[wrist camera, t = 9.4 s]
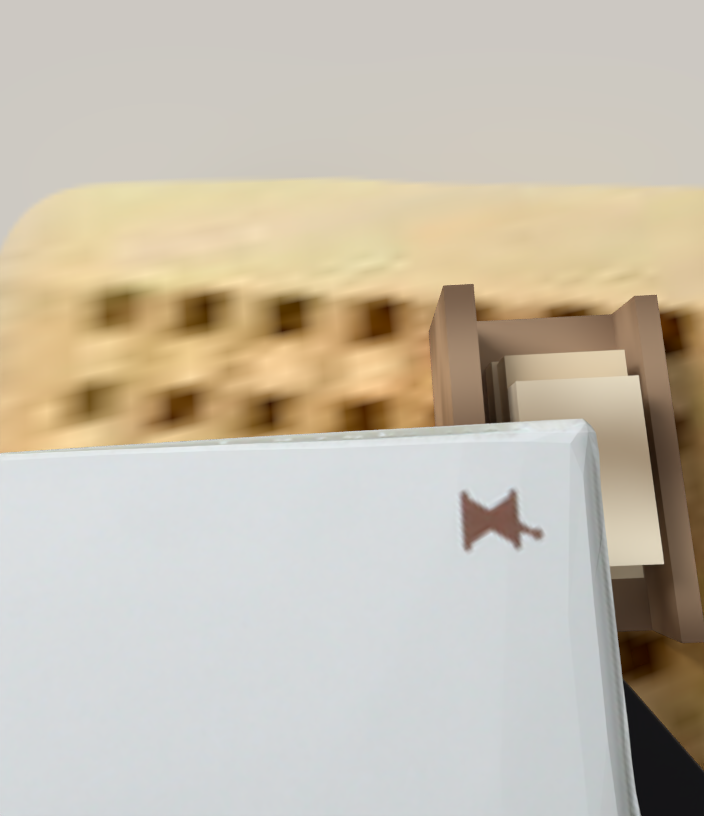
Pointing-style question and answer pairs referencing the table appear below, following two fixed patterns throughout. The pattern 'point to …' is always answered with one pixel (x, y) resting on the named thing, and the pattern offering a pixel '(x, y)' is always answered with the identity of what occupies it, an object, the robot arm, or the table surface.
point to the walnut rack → (645, 356)
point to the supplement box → (312, 627)
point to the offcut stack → (615, 430)
